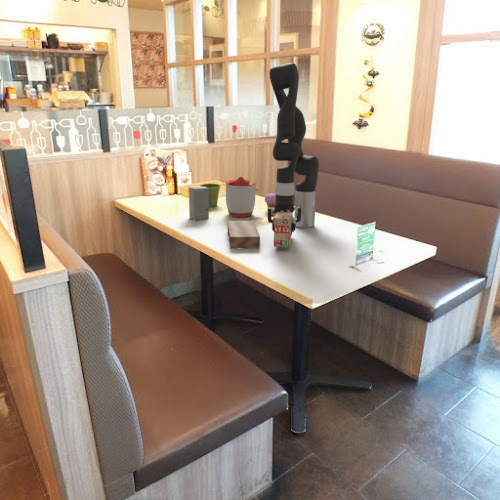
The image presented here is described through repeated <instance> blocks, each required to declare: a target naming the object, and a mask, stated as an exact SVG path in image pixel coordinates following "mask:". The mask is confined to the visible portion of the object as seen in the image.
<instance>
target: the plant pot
mask: <svg viewBox="0 0 500 500" xmlns="http://www.w3.org/2000/svg"><path fill="white" fill-rule="evenodd" d="M200 186H204V187H207V188H209V207H216V206H218V203H219V202H218V201H219V193H220V189H221V186H222V184H219V183H202V184H199V187H200Z"/></svg>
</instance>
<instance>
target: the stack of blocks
mask: <svg viewBox="0 0 500 500" xmlns="http://www.w3.org/2000/svg"><path fill="white" fill-rule="evenodd" d="M291 214H292V216H293V217H294V212H293V213H292V212H283V213H280V212H277V213H276V212H275V215H274V216H275V217H273V218H274V231H273V247H274V248H289V247H290V244H291V242H292V241H291V239H292V236H293V232H292V231H291V226H292V220H291Z"/></svg>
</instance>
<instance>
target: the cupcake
mask: <svg viewBox="0 0 500 500" xmlns="http://www.w3.org/2000/svg"><path fill="white" fill-rule="evenodd" d="M275 198H276V192H274V193H267V194H266V195H265V197H264V202H265V203H266V206H267V208H268V207H270V208H274V207H275ZM273 213H276V212H275V210H274V211H273Z"/></svg>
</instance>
